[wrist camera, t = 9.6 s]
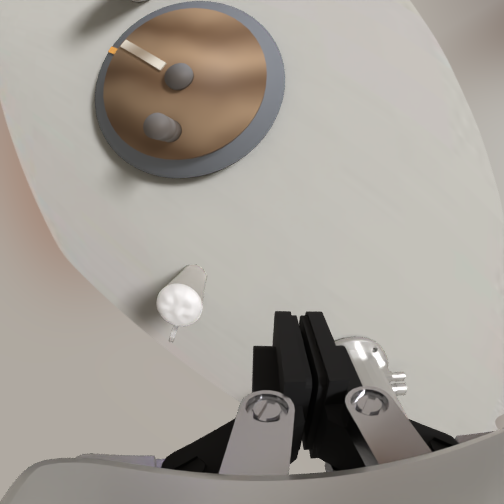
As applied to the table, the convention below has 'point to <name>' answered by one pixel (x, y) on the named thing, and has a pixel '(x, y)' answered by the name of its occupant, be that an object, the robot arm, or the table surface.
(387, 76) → the table surface
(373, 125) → the table surface
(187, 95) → the dial
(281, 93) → the base plate
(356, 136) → the table surface
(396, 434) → the robot arm
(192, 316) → the milkshake
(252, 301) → the table surface
